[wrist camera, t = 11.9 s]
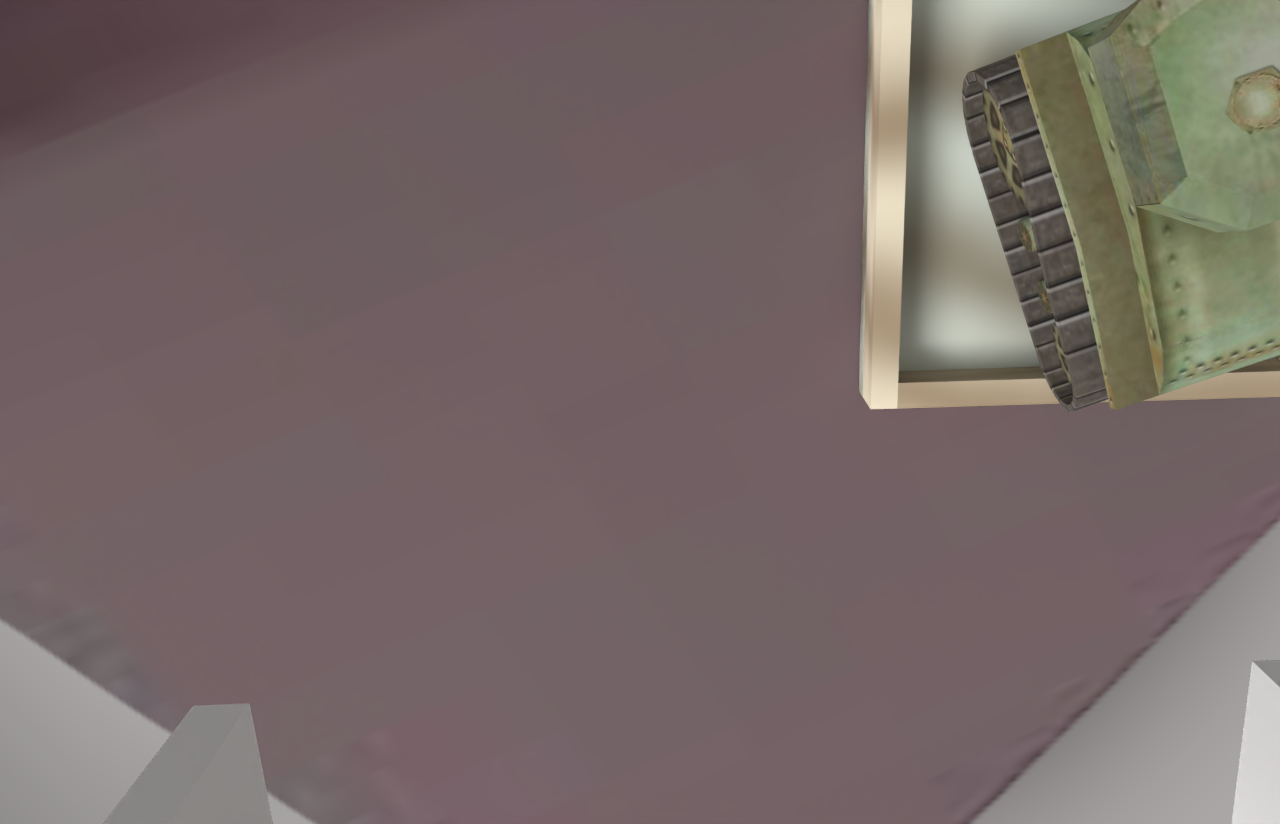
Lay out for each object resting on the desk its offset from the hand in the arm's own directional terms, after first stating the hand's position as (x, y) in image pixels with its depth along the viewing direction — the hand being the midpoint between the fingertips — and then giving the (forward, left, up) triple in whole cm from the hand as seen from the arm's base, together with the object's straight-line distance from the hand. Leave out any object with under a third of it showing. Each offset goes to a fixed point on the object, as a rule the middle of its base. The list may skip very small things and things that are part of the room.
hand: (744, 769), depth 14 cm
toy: (-7, +15, -28) cm, 32 cm away
